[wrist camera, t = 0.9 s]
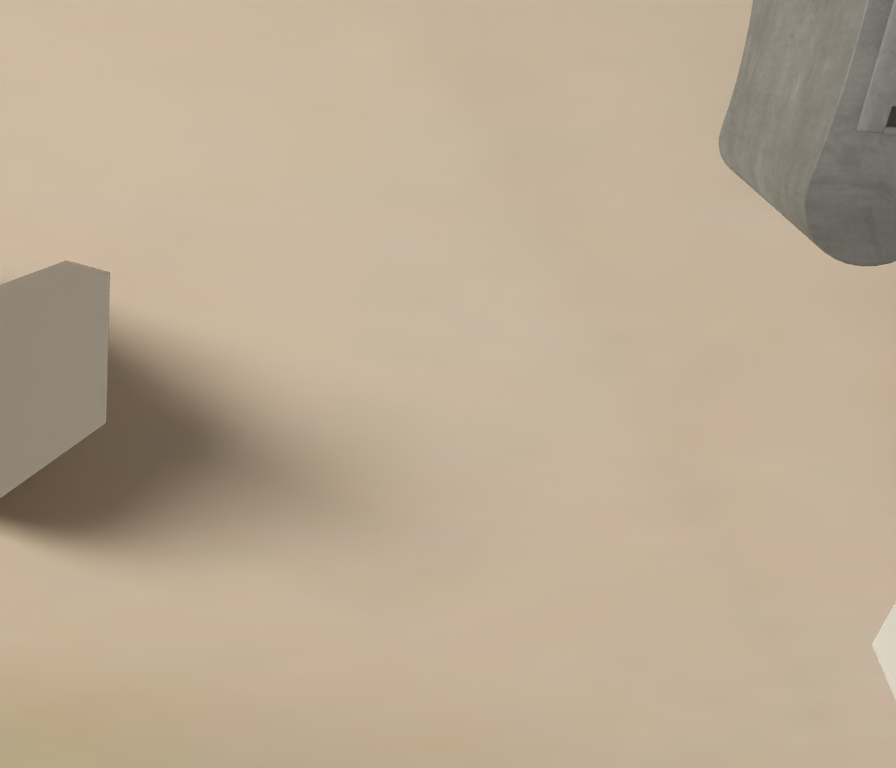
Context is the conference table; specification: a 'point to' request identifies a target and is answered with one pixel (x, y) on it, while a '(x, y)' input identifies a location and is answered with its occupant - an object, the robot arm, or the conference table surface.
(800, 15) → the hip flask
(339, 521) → the conference table surface
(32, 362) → the robot arm
